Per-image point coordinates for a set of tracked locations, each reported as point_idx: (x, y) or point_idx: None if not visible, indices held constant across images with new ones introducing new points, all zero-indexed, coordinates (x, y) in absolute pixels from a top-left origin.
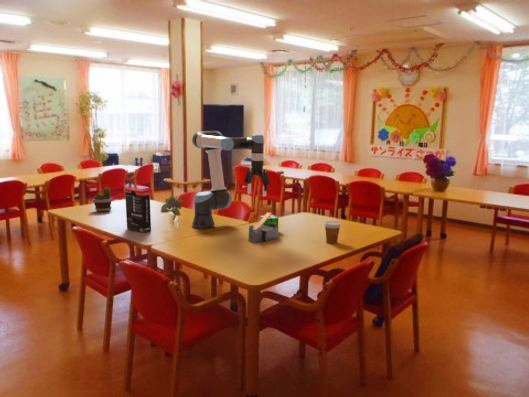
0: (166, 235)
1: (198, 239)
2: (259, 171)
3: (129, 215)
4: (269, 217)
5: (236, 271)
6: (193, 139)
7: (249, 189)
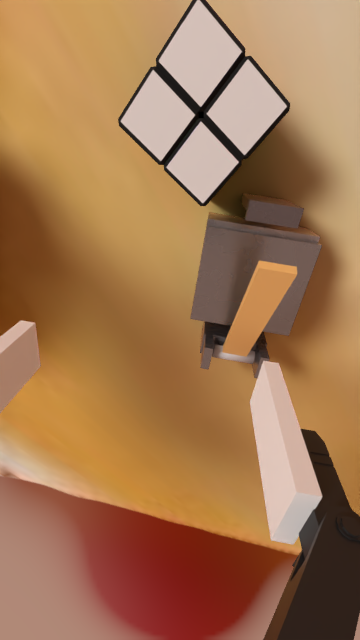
0: None
1: (50, 393)
2: None
3: None
4: (212, 124)
5: None
6: None
7: (4, 388)
